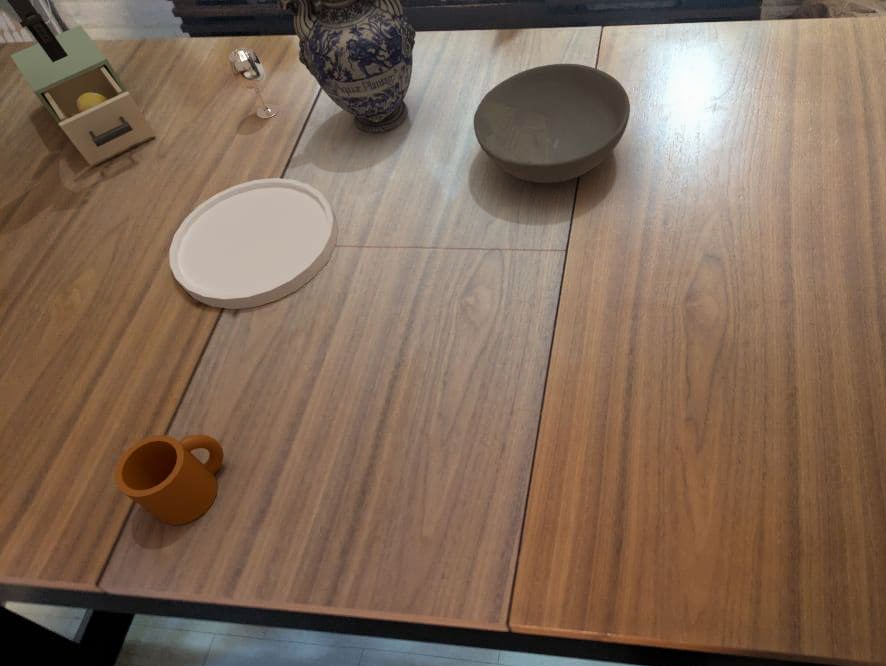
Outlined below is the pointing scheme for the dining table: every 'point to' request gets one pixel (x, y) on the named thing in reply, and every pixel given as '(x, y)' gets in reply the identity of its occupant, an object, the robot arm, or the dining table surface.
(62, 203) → the dining table surface
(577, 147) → the bowl
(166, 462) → the mug
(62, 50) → the robot arm
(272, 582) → the dining table surface
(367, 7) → the decorative vase
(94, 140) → the drawer
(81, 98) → the fruit
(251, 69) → the wineglass
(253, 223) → the plate
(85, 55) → the cabinet
